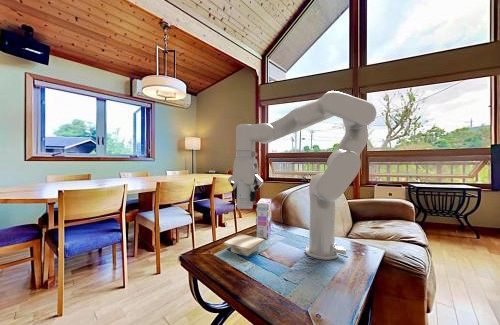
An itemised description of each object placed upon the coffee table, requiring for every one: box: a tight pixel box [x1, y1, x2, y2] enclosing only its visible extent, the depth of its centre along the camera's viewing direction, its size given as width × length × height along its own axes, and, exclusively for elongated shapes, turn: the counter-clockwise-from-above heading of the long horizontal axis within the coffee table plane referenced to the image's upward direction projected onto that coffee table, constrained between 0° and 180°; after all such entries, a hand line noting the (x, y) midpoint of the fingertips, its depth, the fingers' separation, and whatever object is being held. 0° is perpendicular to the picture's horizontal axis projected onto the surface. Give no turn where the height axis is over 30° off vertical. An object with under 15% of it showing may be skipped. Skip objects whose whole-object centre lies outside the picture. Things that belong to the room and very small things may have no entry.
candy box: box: [255, 198, 272, 240], centre depth 117 cm, size 14×6×16 cm, turn 168°
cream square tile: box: [223, 233, 266, 257], centre depth 97 cm, size 12×12×4 cm
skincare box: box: [236, 178, 254, 210], centre depth 96 cm, size 6×4×12 cm
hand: (244, 199), depth 96 cm, fingers closed on skincare box, 7 cm apart
